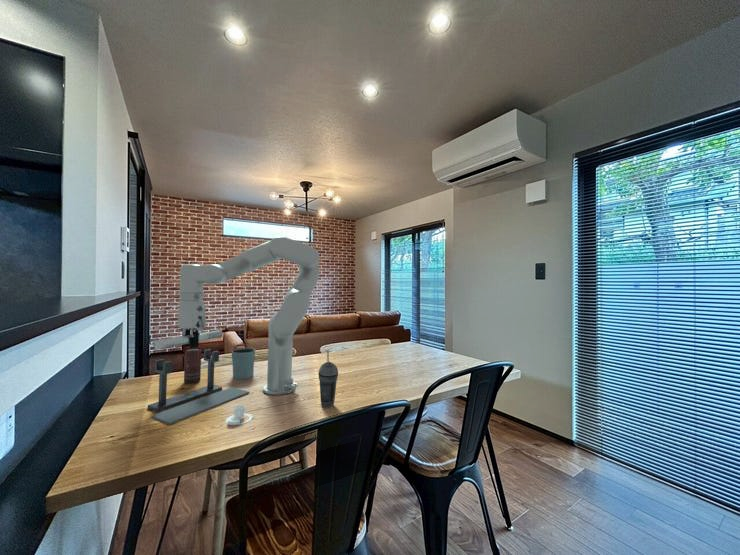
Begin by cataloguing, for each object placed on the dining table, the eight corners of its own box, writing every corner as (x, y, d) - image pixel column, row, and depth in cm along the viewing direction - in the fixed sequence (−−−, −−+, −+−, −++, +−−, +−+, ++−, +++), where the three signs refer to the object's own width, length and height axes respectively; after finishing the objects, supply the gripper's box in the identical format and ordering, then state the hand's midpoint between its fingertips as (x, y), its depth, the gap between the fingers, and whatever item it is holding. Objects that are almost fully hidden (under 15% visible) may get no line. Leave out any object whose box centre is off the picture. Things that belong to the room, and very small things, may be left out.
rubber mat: (249, 393, 119) (249, 391, 119) (169, 424, 92) (169, 423, 92) (231, 388, 123) (231, 387, 123) (151, 417, 96) (151, 415, 96)
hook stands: (222, 389, 121) (223, 350, 121) (157, 412, 100) (159, 364, 100) (212, 387, 124) (213, 348, 124) (147, 408, 103) (149, 361, 103)
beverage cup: (320, 411, 104) (322, 353, 104) (314, 403, 111) (316, 348, 111) (340, 407, 107) (342, 351, 108) (333, 400, 114) (334, 347, 114)
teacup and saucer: (233, 430, 91) (233, 416, 91) (217, 422, 95) (218, 409, 95) (257, 419, 98) (258, 406, 98) (242, 412, 102) (243, 400, 102)
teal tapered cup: (249, 380, 134) (249, 353, 134) (226, 379, 134) (227, 352, 134) (257, 373, 144) (258, 348, 144) (236, 372, 144) (237, 347, 144)
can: (193, 384, 126) (194, 351, 126) (180, 383, 128) (181, 350, 128) (204, 380, 132) (205, 348, 132) (191, 378, 134) (192, 347, 134)
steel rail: (217, 337, 124) (217, 329, 124) (222, 337, 122) (222, 330, 122) (153, 349, 102) (153, 340, 102) (158, 350, 101) (158, 341, 101)
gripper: (215, 297, 112) (214, 347, 112) (187, 296, 119) (187, 342, 119) (195, 299, 105) (194, 351, 105) (168, 297, 113) (167, 346, 113)
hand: (190, 346), depth 112 cm, fingers closed on steel rail, 3 cm apart
